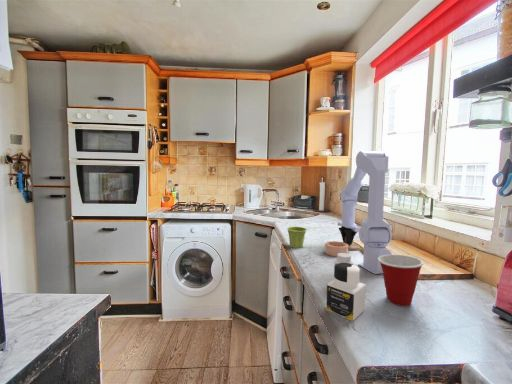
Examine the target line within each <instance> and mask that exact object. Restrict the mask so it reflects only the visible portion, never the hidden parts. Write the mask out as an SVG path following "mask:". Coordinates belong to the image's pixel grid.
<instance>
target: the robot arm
mask: <svg viewBox="0 0 512 384" xmlns="http://www.w3.org/2000/svg"><path fill="white" fill-rule="evenodd" d="M355 165H356V168H355V169H356V170H355V172H354V174H353V177H351V178H349V180H348V182H347V184H346V185H345V186H346V187H345V188H342V189H341V191H340V195H339V197H340V201H341V220H338V221H337V226H340V227H338V230H339V232H340V235H341V239H342V242H344V243H345V236H346V239H347V244H348V245H351V244H352V243H354V239H355V237H356V234H357V233H358V238H359V241H360V242H361V243H362V244H363V262H360V263H359V262H358V263H357V265H358V266H360V267H361V268H363V269H365V270H366V271H369V272H370V273H372V274H374V275H380V274H383V270H382V267H381V264H380V262H379V261H378V257H380V256H383V255H393V254H392V252H391V251H390V249H388V248H387V247H388V244H390V242H391V240H392V238H393V236H392V234H393V233H392V232H391V224H390V223H389V222H388V221H386V220H385V219H384V204H385V203H384V202H385V185H386V173H388V170H389V169H388V168H389V155H388V154H387V152H386V151H383V150H381V151H363V150H359V151H358V152H357V154H356V156H355ZM366 175H368V177H369V180H368V181H369V182H368V198H367V199H368V201H367V218H365V219H364V220H363V221H361V223H360V226H357V224H356V223H355V219H356V206H357V202H358V200H359V199H358V198H359V195H358V194H359V192H360V190H361V188H362V186H363V182H362V181H363V180H364V178H365V176H366Z"/></svg>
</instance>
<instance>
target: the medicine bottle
mask: <svg viewBox="0 0 512 384" xmlns="http://www.w3.org/2000/svg"><path fill="white" fill-rule="evenodd" d="M333 269H334V270H333V271H334V272H333V273H334V274H333V279H332V280H331V281H330V282H328V283H327V284H326V310H327V311H328V312H331V313H333V314H335V315H338V316H339V315H340V317H342V318H344V317H345V319H346V318H347V319H346V320H349V321H351V322H353V321H354V320H356V319H357V318H358V317H359V316H360V315H361V314H363V312H364V311H365V306H366V284H365V283H363V282H360V272H361V271H360V268H359V267H358V266H357V265H356V264H354V263H353V264H350V263H338V264H336V265H335V266H333Z"/></svg>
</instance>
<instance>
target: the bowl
mask: <svg viewBox="0 0 512 384" xmlns="http://www.w3.org/2000/svg"><path fill="white" fill-rule="evenodd" d="M324 247H325V248H324V249H325V251H324V252H325V253H326V255H329V256H330V257H335V258H337V254H338V253H347V254H349V251H348V244H346V243H344V242H343V241H335V240H332V241H327V242H326V243H325V244H324Z"/></svg>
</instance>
